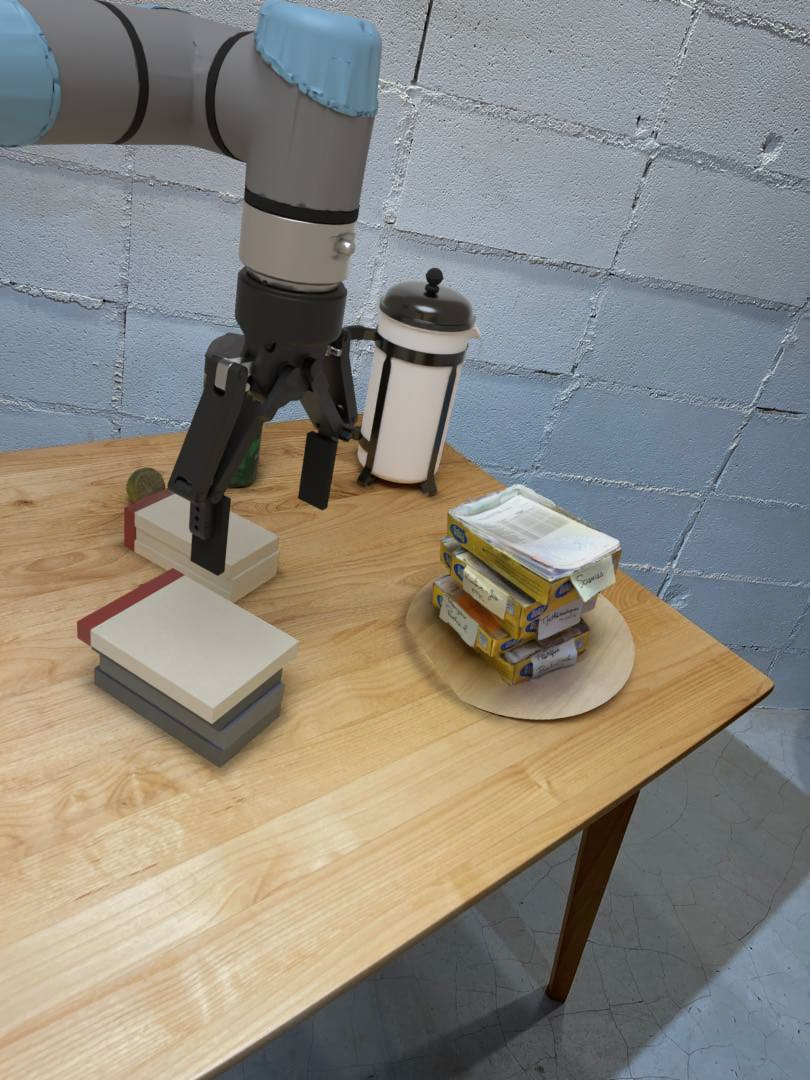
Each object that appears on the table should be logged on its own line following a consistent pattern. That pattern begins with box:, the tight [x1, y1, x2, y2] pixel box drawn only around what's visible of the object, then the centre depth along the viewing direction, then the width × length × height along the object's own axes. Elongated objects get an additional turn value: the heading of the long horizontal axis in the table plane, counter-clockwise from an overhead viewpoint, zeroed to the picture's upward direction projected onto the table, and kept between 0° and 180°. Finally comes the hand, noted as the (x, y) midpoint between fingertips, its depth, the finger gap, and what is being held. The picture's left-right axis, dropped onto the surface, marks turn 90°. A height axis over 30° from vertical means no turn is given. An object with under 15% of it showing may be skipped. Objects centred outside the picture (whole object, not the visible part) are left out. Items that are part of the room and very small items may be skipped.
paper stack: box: [405, 483, 636, 720], centre depth 86 cm, size 25×25×17 cm
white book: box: [76, 568, 300, 724], centre depth 70 cm, size 15×11×2 cm
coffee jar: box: [202, 332, 264, 488], centre depth 106 cm, size 10×8×19 cm
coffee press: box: [342, 267, 483, 497], centre depth 110 cm, size 17×16×30 cm
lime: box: [125, 467, 166, 504], centre depth 99 cm, size 4×5×5 cm
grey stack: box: [91, 646, 286, 769], centre depth 73 cm, size 15×8×7 cm, turn 59°
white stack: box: [123, 487, 281, 604], centre depth 91 cm, size 16×8×5 cm, turn 59°
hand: (264, 532), depth 67 cm, fingers open, 13 cm apart
